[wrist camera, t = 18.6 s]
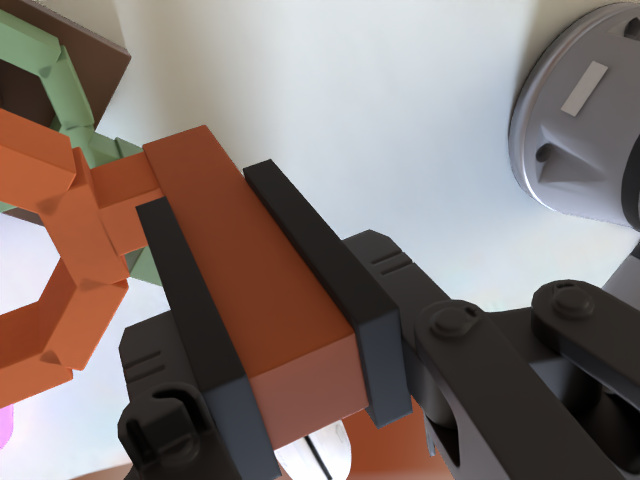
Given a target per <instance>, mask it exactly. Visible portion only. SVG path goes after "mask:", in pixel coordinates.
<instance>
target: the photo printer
mask: <svg viewBox="0 0 640 480" xmlns="http://www.w3.org/2000/svg"><path fill="white" fill-rule="evenodd" d="M274 454H275V456H276V458H277V459H278V461H279V462H280V464H281V465H282V467H283V468H284V469H285V471H286V472H287V473H288V474H289V476H290V477H291V478H292V479H293V480H345V479H346V478H347V476H348V474H349V470H350V467H351V446H350V442H349V439H348V436H347V434H346V431H345V428H344V426H343V423H342V421H341V420H339V421H336V422H334V423H332V424H330V425H328V426H326V427H324V428H322V429H320V430H317V431H315V432H313V433H311V434H309V435H307V436H305V437H303V438H300V439H298V440H296V441H294V442H292V443H290V444H288V445H286V446H283V447H281V448H279V449H277V450H275V451H274Z"/></svg>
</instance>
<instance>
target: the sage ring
mask: <svg viewBox="0 0 640 480" xmlns="http://www.w3.org/2000/svg"><path fill="white" fill-rule="evenodd" d="M0 59H2V60H5V61H7V62H9V63H11V64H13V65H16V66H18V67H20V68H22V69H24V70H27V71H29V72H31V73H33V74H35V75H37V76H39V78H40V80H41V82H42V84H43V87H44V89H45V91H46V93H47V95H48V98H49V100H50V102H51V104H52V106H53V109H54V111H55V113H56V114H55V116H54V118H53V120H52V123H51V125H50V127H49V129H52V130H54V131H57V132H59V133H62V134H64V135H66V136H69V137H70V142H71V147H72V148H75V147H80V148H81V150H82V152H83V154H84V157H85V159H86V161H87V163H88V166H89V168H90V169H92V168H95V167H98V166H101V165H104V164H107V163H110V162H113V161H116V160H119V159H122V158H125V157H128V156H131V155H134V154H137V153H140V152H143V148H141V147H138V146H136V145H134V144H131V143H129V142H127V141H124V140H122V139H120V138H117V137H116V139H115V140H112V139H110V138H108V137H105V136H103V135H101V134H98V133H96V132H95V131H94V127H93V124H94V118H93V115H92V111H91V108H90V105H89V102H88V100H87V98H86V95H85V93H84V90H83V88H82V86H81V83H80V81H79V78H78V76H77V74H76V71H75V69H74V66H73V64H72V62H71V59H70V57H69V54H68V52H67V50H66V47H65V46H64V45H61V46H60V45H59V40H58V38H57V37H55V36H53V35H51V34H49V33H47V32H45V31H43V30H41V29H39V28H37V27H35V26H33V25H31V24H29V23H27V22H25V21H23V20H21V19H19V18H17V17H15V16H13V15H11V14H9V13H7V12H5V11H3V10H1V9H0ZM13 208H16V206H13V205H10V204H7V203H4V202H1V201H0V213H1V212H4V211H7V210H10V209H13ZM124 255H125V259H126V263H127V266H128V270H129V273H130V277H132V278H136V279H139V280H142V281H146V282H149V283H152V284H156V285H159V286H162V283H161V280H160V277H159V274H158V271H157V268H156V266H155V263H154V260H153V257H152V254H151V251H150V248H149V245H148V246H145V247H143V248H140V249H137V250H134V251H132V252H129V253H126V254H124ZM162 287H163V286H162Z"/></svg>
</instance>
